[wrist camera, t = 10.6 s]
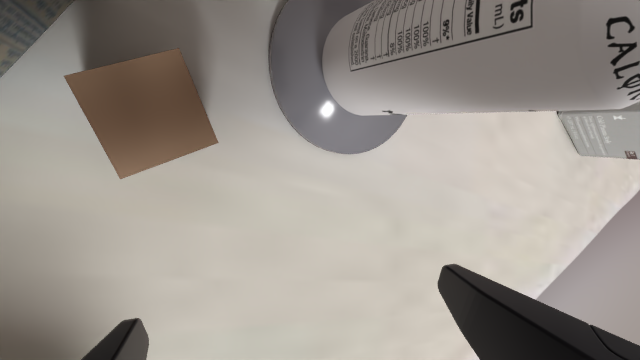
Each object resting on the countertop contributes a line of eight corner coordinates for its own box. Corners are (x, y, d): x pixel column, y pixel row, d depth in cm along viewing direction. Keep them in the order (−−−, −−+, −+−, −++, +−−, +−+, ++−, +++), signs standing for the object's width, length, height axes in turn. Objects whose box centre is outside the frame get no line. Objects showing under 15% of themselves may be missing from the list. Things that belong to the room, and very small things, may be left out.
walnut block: (205, 137, 17) (218, 142, 14) (127, 165, 16) (120, 179, 12) (173, 63, 16) (178, 48, 12) (84, 86, 14) (63, 76, 11)
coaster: (412, 143, 24) (418, 143, 24) (279, 164, 19) (282, 165, 19) (411, -15, 22) (417, -18, 21) (258, -37, 17) (261, -42, 16)
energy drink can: (351, 135, 21) (689, 158, 8) (295, 57, 18) (668, -106, 5) (405, 76, 22) (772, 13, 9) (360, -4, 19) (789, -257, 6)
